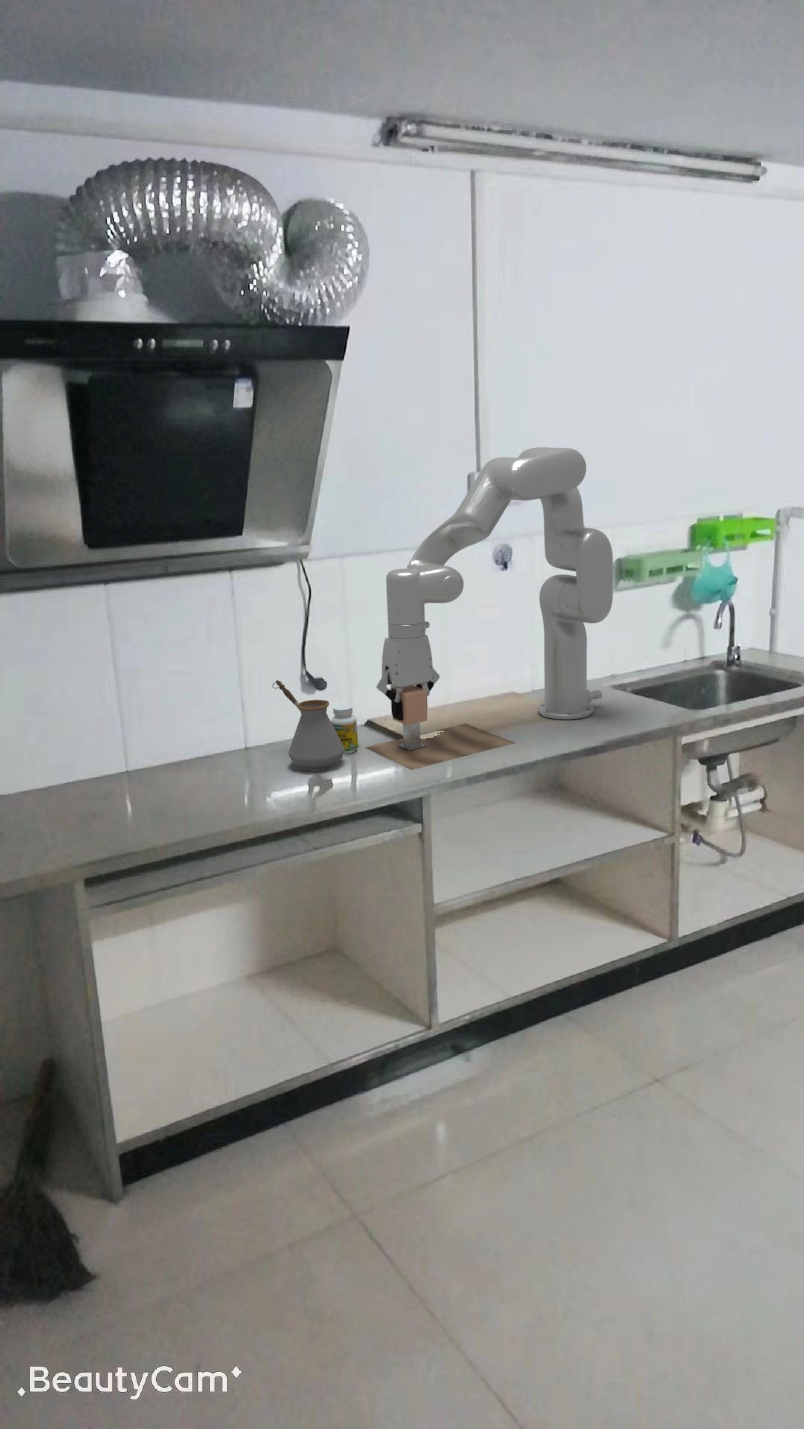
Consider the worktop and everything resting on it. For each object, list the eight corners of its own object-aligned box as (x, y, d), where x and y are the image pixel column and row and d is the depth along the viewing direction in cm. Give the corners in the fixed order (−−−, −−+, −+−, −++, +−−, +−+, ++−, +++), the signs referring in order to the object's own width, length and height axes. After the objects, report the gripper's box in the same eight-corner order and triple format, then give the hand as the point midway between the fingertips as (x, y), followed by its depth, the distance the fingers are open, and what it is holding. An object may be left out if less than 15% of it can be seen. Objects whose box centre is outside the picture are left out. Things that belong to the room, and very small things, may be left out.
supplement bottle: (360, 746, 225) (357, 703, 222) (356, 754, 220) (353, 710, 217) (335, 746, 225) (332, 703, 223) (331, 755, 220) (328, 711, 217)
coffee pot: (356, 765, 213) (351, 693, 209) (306, 778, 207) (301, 705, 203) (304, 741, 230) (299, 674, 226) (257, 752, 224) (251, 684, 220)
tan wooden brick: (413, 715, 222) (412, 684, 220) (427, 720, 218) (426, 689, 216) (392, 719, 219) (391, 688, 218) (406, 725, 215) (405, 694, 213)
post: (415, 741, 223) (413, 710, 221) (426, 746, 220) (425, 714, 218) (397, 746, 221) (396, 714, 219) (409, 751, 217) (407, 718, 215)
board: (465, 726, 235) (465, 723, 234) (515, 746, 220) (515, 742, 220) (365, 751, 221) (364, 747, 221) (411, 773, 207) (411, 769, 207)
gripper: (431, 622, 221) (433, 705, 226) (361, 633, 212) (365, 720, 217) (451, 627, 215) (453, 713, 220) (380, 639, 206) (384, 728, 211)
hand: (409, 715), depth 218 cm, fingers closed on tan wooden brick, 5 cm apart
